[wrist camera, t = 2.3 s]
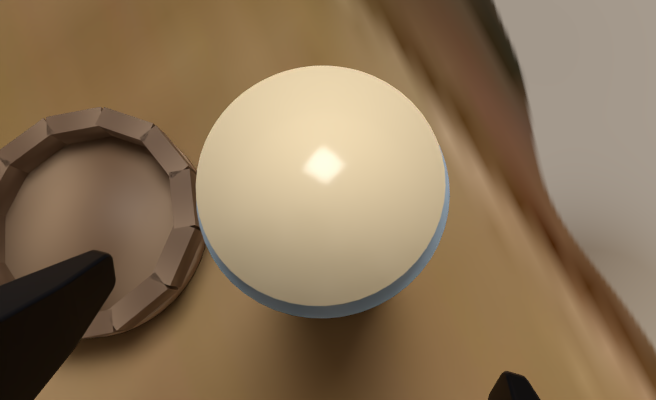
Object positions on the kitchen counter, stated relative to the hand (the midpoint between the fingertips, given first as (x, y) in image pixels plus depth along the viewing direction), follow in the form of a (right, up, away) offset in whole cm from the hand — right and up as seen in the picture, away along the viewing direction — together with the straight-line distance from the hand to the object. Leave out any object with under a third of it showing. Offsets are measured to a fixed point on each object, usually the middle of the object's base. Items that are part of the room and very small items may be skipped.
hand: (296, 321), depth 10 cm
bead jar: (+1, 0, +10) cm, 10 cm away
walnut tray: (-10, +2, +11) cm, 15 cm away
